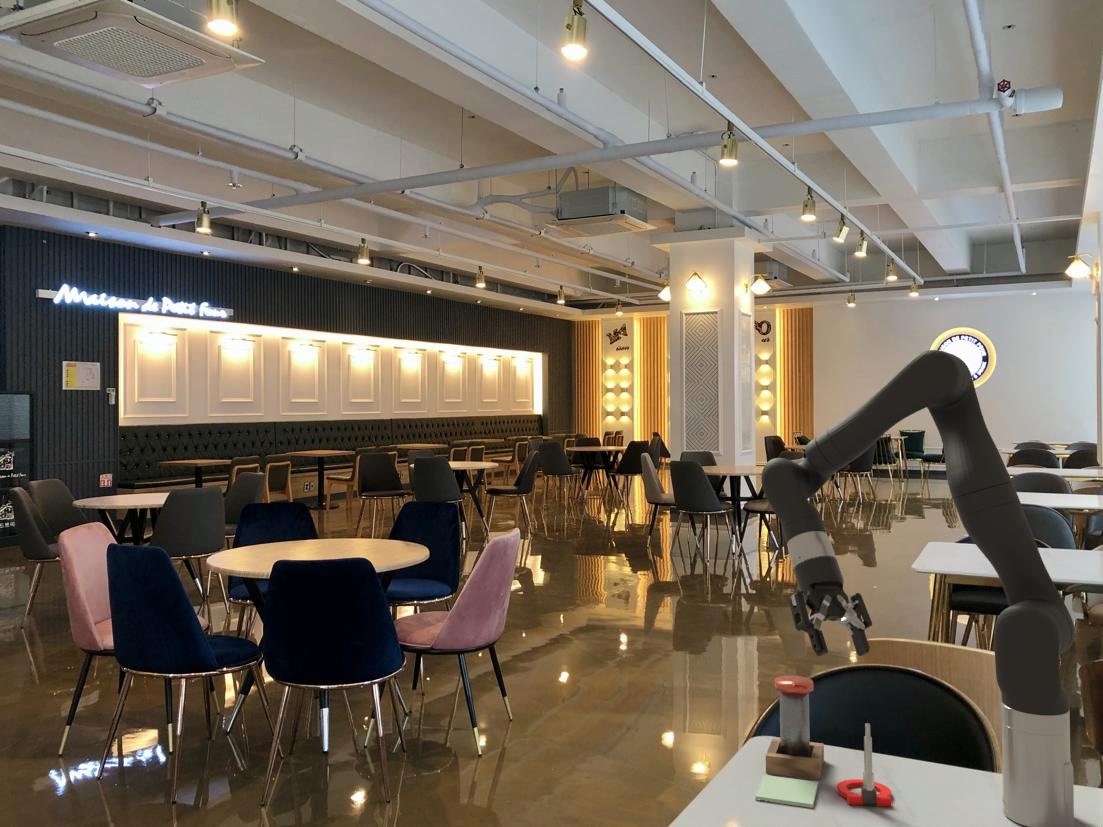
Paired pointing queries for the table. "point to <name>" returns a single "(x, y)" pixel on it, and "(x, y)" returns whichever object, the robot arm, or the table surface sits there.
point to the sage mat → (787, 791)
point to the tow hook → (866, 782)
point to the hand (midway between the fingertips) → (843, 654)
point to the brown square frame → (795, 761)
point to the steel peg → (794, 714)
